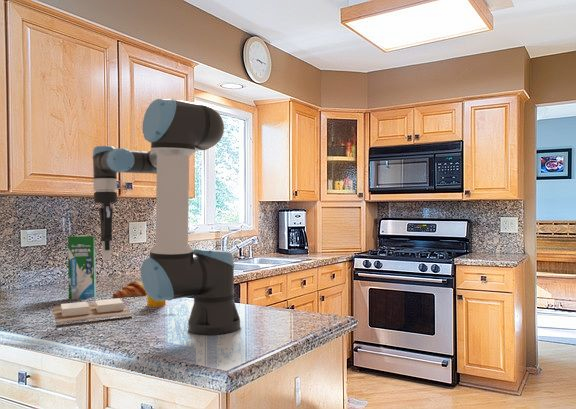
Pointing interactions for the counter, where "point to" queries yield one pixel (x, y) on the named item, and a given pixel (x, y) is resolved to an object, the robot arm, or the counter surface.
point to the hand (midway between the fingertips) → (106, 259)
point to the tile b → (109, 305)
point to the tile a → (75, 309)
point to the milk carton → (81, 267)
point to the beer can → (154, 302)
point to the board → (89, 316)
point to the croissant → (131, 290)
